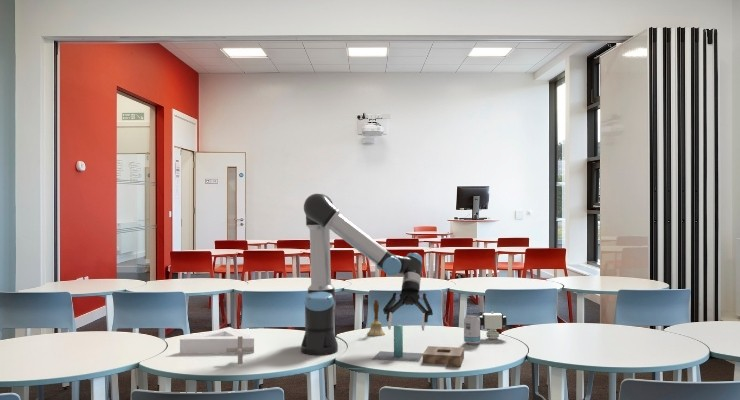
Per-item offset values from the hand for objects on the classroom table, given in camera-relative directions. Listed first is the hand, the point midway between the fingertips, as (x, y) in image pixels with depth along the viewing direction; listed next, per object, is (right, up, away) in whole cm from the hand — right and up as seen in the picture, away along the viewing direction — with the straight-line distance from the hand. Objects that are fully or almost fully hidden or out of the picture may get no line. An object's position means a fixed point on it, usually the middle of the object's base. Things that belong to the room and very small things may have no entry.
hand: (405, 328), depth 253 cm
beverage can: (+30, -11, +19) cm, 37 cm away
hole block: (+14, -10, -12) cm, 21 cm away
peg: (-3, -10, -6) cm, 12 cm away
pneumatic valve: (+40, -11, +30) cm, 52 cm away
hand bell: (-11, -11, +41) cm, 44 cm away
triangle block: (-77, -12, +18) cm, 80 cm away
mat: (-3, -10, -6) cm, 12 cm away
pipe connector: (-64, -11, -12) cm, 66 cm away
